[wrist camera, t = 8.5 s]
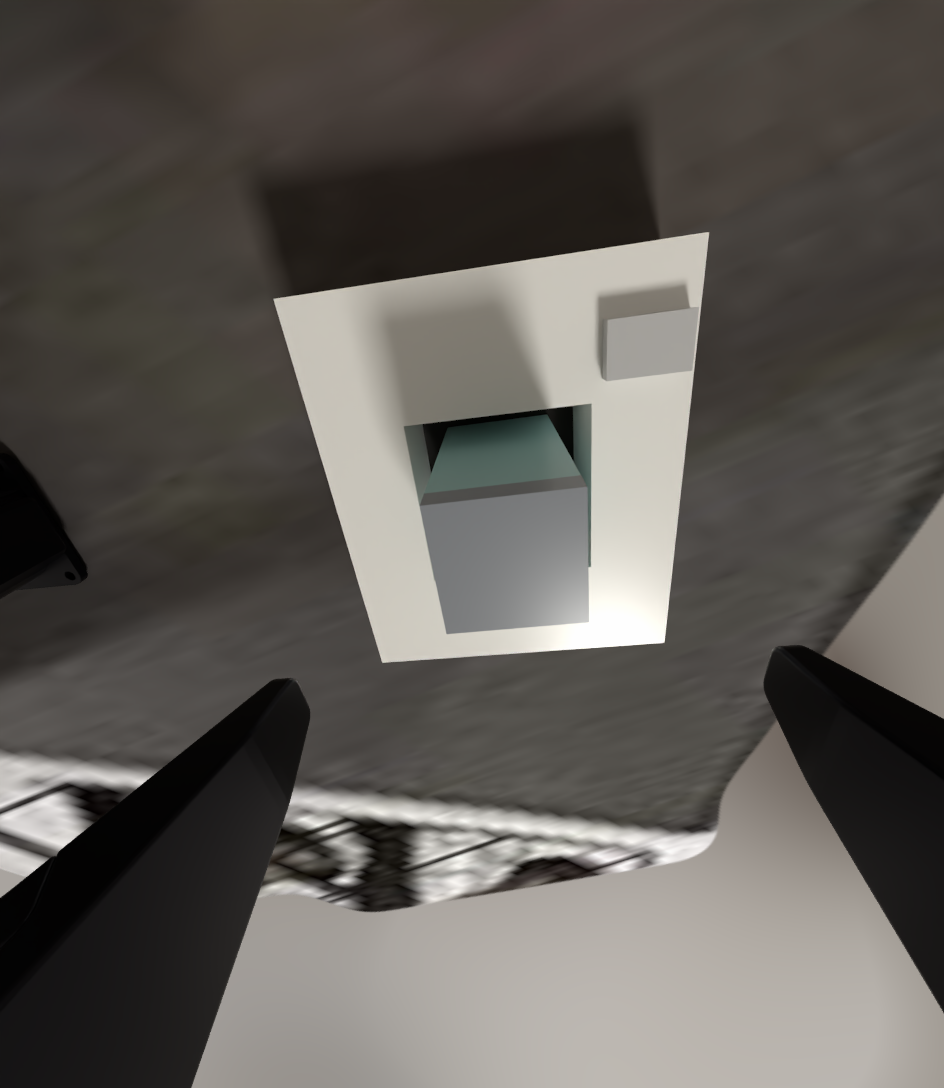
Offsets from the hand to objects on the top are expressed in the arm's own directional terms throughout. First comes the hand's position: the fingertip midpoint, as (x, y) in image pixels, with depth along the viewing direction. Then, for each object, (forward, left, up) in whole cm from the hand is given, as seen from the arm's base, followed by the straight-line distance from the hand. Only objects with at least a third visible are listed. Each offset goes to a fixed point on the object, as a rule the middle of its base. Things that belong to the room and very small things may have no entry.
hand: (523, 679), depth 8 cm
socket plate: (0, 0, -12) cm, 12 cm away
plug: (0, 0, -12) cm, 12 cm away
